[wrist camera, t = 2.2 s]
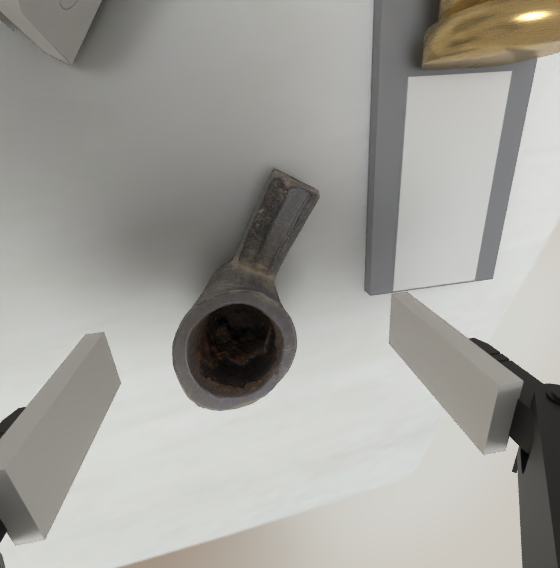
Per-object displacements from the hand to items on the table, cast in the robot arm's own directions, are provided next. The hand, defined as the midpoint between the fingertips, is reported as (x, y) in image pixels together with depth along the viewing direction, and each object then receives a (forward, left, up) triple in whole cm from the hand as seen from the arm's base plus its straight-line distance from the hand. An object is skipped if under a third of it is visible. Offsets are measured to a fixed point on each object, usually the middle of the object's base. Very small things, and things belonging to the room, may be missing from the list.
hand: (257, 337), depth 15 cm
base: (-8, +14, -9) cm, 18 cm away
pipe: (-1, 0, -9) cm, 9 cm away
